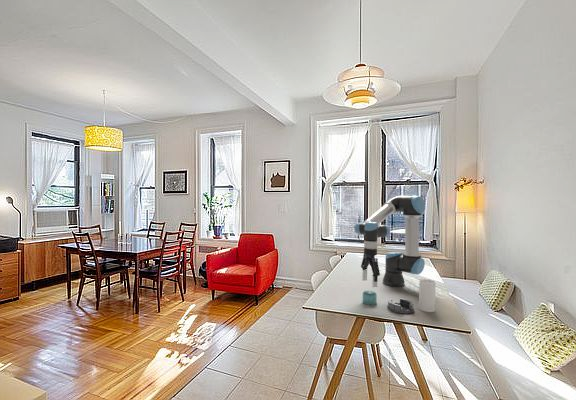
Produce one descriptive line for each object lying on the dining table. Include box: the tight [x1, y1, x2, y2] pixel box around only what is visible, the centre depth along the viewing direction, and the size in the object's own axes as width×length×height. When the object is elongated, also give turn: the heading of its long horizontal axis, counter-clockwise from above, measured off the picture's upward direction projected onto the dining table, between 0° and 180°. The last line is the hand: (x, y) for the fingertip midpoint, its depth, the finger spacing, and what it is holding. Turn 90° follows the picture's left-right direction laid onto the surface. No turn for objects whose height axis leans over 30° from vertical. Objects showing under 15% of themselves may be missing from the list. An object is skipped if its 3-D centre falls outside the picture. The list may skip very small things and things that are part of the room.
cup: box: [418, 278, 437, 313], centre depth 162 cm, size 8×8×16 cm
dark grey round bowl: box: [387, 297, 415, 315], centre depth 162 cm, size 14×14×4 cm
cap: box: [362, 290, 378, 306], centre depth 171 cm, size 8×8×6 cm
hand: (369, 283), depth 171 cm, fingers open, 13 cm apart
